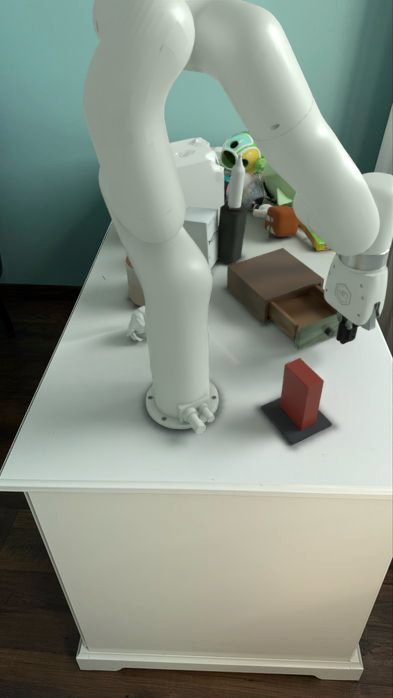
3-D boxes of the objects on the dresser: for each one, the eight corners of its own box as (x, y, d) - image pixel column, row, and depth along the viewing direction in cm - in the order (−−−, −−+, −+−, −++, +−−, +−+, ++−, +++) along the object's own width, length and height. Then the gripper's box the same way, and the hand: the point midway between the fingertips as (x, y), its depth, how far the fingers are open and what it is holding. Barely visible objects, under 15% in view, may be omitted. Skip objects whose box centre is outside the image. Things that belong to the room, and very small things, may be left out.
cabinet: (320, 302, 109) (324, 278, 105) (263, 324, 104) (265, 300, 100) (280, 270, 119) (282, 247, 115) (226, 289, 114) (227, 265, 110)
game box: (315, 254, 125) (288, 210, 139) (353, 249, 127) (322, 206, 140) (318, 243, 123) (289, 200, 137) (355, 238, 124) (324, 196, 138)
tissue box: (206, 131, 132) (114, 147, 124) (236, 150, 121) (137, 170, 113) (206, 205, 145) (123, 224, 138) (233, 228, 135) (145, 250, 127)
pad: (331, 425, 84) (332, 423, 84) (292, 445, 81) (292, 442, 81) (298, 391, 90) (298, 389, 90) (260, 408, 87) (260, 406, 87)
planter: (125, 287, 116) (119, 250, 109) (170, 277, 118) (168, 240, 112) (136, 314, 108) (131, 276, 102) (185, 303, 110) (183, 265, 104)
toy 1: (233, 170, 141) (249, 221, 140) (279, 132, 126) (296, 189, 125) (284, 171, 153) (299, 218, 152) (332, 136, 138) (348, 189, 137)
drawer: (357, 331, 100) (361, 313, 98) (302, 354, 96) (304, 336, 93) (310, 293, 110) (313, 276, 107) (258, 312, 106) (259, 296, 103)
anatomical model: (259, 214, 146) (238, 225, 140) (232, 182, 147) (210, 191, 141) (278, 191, 138) (257, 201, 132) (249, 157, 139) (226, 165, 133)
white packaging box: (209, 273, 118) (206, 223, 110) (180, 268, 121) (175, 219, 113) (220, 257, 123) (218, 208, 115) (192, 252, 126) (188, 204, 118)
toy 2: (243, 223, 138) (271, 240, 126) (245, 198, 134) (275, 212, 123) (272, 221, 141) (303, 237, 129) (275, 196, 138) (307, 210, 126)
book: (315, 423, 84) (324, 380, 77) (301, 430, 83) (308, 387, 76) (293, 399, 88) (299, 357, 81) (279, 406, 87) (284, 363, 80)
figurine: (202, 325, 104) (196, 294, 102) (136, 347, 97) (129, 313, 95) (184, 321, 110) (179, 291, 108) (121, 341, 103) (114, 310, 101)
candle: (213, 256, 123) (223, 152, 107) (226, 249, 126) (237, 147, 110) (230, 265, 121) (243, 159, 104) (242, 257, 124) (257, 153, 108)
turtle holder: (279, 181, 157) (254, 191, 150) (236, 164, 166) (210, 172, 160) (286, 140, 149) (259, 149, 142) (240, 124, 158) (213, 131, 151)
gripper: (315, 239, 85) (304, 324, 98) (378, 282, 75) (357, 371, 88) (350, 227, 88) (335, 311, 100) (416, 268, 78) (390, 356, 90)
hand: (345, 339), depth 94 cm, fingers closed
